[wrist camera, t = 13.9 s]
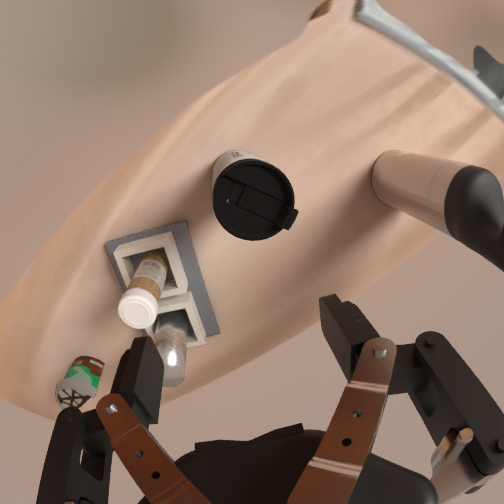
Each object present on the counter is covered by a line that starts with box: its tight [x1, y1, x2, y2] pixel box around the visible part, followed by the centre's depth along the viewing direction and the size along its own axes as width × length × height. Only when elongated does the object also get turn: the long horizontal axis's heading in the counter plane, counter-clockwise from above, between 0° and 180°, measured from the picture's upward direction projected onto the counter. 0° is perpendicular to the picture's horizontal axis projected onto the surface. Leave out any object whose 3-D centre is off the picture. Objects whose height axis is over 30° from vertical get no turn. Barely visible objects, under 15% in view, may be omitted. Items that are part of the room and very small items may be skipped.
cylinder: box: [153, 309, 189, 387], centre depth 40 cm, size 5×5×13 cm
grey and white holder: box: [105, 221, 220, 348], centre depth 43 cm, size 13×20×4 cm, turn 12°
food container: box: [55, 356, 104, 410], centre depth 44 cm, size 12×6×10 cm, turn 132°
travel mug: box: [212, 150, 299, 241], centre depth 30 cm, size 6×7×20 cm
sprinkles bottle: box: [118, 251, 169, 329], centre depth 36 cm, size 5×5×14 cm
